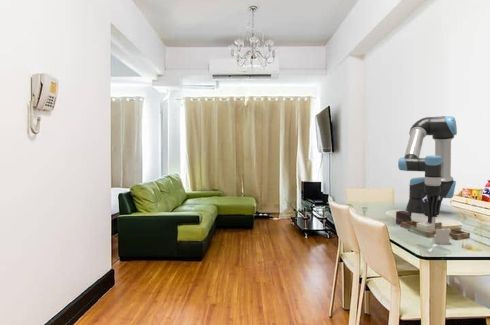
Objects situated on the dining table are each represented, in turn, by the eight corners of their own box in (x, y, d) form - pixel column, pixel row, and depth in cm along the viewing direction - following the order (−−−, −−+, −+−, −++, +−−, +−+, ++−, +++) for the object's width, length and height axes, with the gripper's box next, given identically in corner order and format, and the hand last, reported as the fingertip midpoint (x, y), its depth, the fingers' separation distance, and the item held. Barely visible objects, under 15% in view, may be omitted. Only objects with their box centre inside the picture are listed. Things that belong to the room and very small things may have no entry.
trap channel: (427, 223, 185) (427, 219, 185) (476, 236, 159) (476, 232, 158) (396, 227, 178) (396, 222, 178) (442, 242, 151) (442, 237, 151)
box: (404, 225, 180) (405, 213, 180) (395, 223, 186) (395, 211, 185) (411, 224, 183) (411, 212, 183) (402, 222, 188) (402, 210, 188)
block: (424, 230, 170) (425, 221, 170) (434, 234, 165) (435, 224, 164) (416, 232, 168) (416, 222, 168) (426, 235, 163) (426, 225, 162)
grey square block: (433, 242, 153) (433, 227, 152) (449, 243, 151) (450, 228, 150) (435, 244, 150) (435, 229, 149) (451, 245, 147) (452, 230, 147)
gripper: (435, 183, 171) (434, 225, 173) (417, 184, 167) (416, 228, 169) (448, 185, 164) (446, 229, 166) (429, 186, 160) (428, 231, 162)
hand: (431, 228), depth 167 cm, fingers closed
